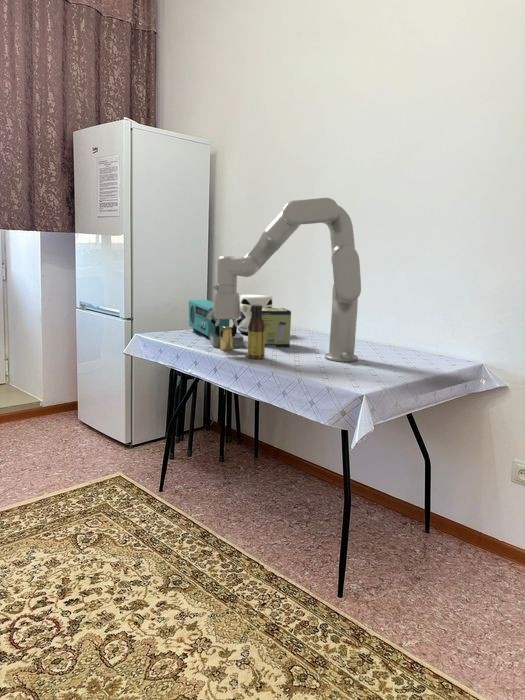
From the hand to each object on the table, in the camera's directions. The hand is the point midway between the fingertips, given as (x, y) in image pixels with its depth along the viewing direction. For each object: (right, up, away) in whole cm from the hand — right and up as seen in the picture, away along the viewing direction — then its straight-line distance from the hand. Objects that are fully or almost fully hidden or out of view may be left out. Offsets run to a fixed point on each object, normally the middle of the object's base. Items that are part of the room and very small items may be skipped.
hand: (225, 335), depth 207 cm
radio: (-11, 0, +37) cm, 39 cm away
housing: (-1, -4, +12) cm, 13 cm away
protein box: (+17, -4, +20) cm, 27 cm away
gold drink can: (0, -7, +1) cm, 7 cm away
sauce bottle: (+12, -9, -7) cm, 16 cm away
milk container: (+11, +2, +50) cm, 51 cm away
